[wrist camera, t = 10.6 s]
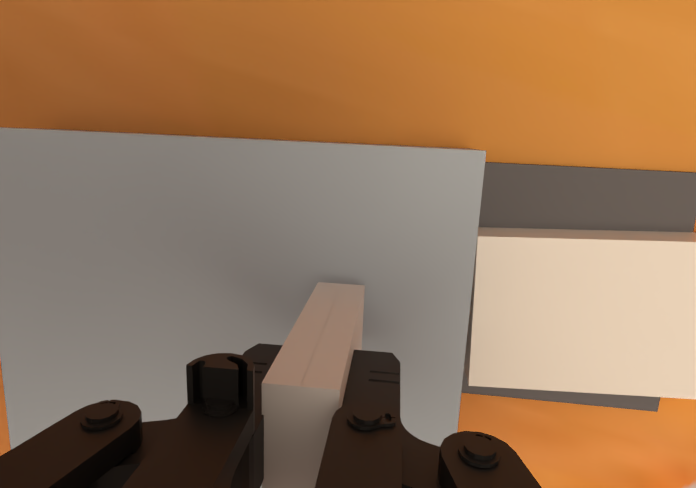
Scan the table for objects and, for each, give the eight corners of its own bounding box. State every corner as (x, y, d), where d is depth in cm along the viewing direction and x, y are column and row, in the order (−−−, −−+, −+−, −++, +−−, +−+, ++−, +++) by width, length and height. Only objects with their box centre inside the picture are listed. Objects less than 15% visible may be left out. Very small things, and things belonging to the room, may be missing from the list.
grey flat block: (52, 129, 21) (-27, 126, 18) (470, 148, 20) (486, 150, 16) (75, 416, 24) (13, 469, 21) (440, 457, 23) (447, 523, 19)
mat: (475, 161, 20) (476, 161, 19) (700, 172, 19) (704, 173, 19) (452, 388, 22) (453, 391, 22) (653, 407, 21) (657, 411, 21)
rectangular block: (470, 226, 20) (477, 236, 18) (707, 232, 19) (742, 243, 17) (462, 363, 21) (468, 385, 19) (684, 375, 20) (714, 400, 18)
